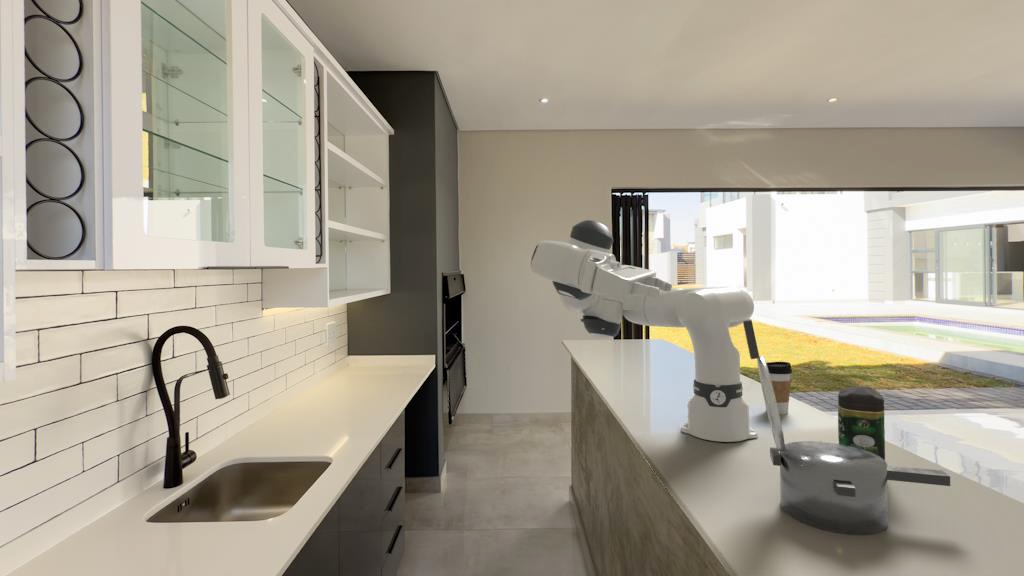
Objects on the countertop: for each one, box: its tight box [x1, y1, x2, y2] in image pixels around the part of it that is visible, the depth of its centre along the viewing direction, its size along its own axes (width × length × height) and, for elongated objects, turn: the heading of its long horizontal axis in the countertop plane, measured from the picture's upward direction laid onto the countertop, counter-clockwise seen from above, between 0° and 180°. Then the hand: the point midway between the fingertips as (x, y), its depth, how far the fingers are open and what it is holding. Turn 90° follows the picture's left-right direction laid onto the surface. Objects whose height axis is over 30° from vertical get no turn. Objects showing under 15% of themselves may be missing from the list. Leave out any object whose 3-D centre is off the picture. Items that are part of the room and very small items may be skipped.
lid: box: [742, 318, 785, 452], centre depth 93 cm, size 17×24×2 cm
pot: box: [769, 440, 951, 536], centre depth 89 cm, size 22×26×10 cm
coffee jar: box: [837, 385, 886, 461], centre depth 104 cm, size 10×8×19 cm
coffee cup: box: [765, 361, 793, 415], centre depth 154 cm, size 8×8×15 cm
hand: (665, 290), depth 100 cm, fingers open, 8 cm apart
